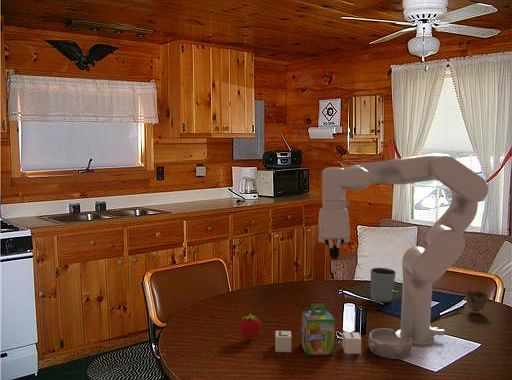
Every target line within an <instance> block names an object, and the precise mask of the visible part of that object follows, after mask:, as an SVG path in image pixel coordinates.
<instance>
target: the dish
mask: <svg viewBox="0 0 512 380" xmlns="http://www.w3.org/2000/svg"><path fill="white" fill-rule="evenodd" d="M367 341H368V348H369V350H370V352H372V353H373V354H374V355H376V356H379V357H381V358H386V359H393V360H402V359H405V358H408V357H409V356H410V355H411V353H412V350H413V349H412V348H413V345H412V339H411V338H410V337H409V338H408V339H407V340H405V341H403V340H401V339H400V338H399V337H398V336H397V335H396V331H395V330H394V329H393V328H386V327H385V328H384V327H383V328H382V327H381V328H375V329H372V330H371V331H370V332H369V335H368V340H367Z"/></svg>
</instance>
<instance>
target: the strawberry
mask: <svg viewBox="0 0 512 380" xmlns="http://www.w3.org/2000/svg"><path fill="white" fill-rule="evenodd" d="M261 326H262V323H261V320H260V319H259V317H257V316H256V315H253V314H252V312H250V314H249V315H243V316H242V318H241V319H240V320H239V321H238V328H239V331H240V333H241V334H242V335H243V336H244V338H246V340H247V341H252V340H253V339H254V338H255V336H256V335H257V334H258V333H259V331H260V329H261Z"/></svg>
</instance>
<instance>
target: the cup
mask: <svg viewBox="0 0 512 380" xmlns="http://www.w3.org/2000/svg"><path fill="white" fill-rule="evenodd" d="M487 299H488V294H487V293H485V292H482V291H480V290H478V291H477V290H475V291H474V292H472V290H467V291H466V302H467V306H468V307H469V309H470V313H472V314H474V315H480V314H481V312H482V310H484V308H485V306H486V305H487Z"/></svg>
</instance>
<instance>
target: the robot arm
mask: <svg viewBox="0 0 512 380" xmlns="http://www.w3.org/2000/svg"><path fill="white" fill-rule="evenodd" d="M431 181H439V183H441V184H442V185H444V186H445V187H446V188H448V189H450V191H451V201H450V202H451V203H450V205H449V206H448V208H447V209H446V210H445V211H444V213H443V214H442V215H441V216H440V217H439V218H438V220H436V222H435V223H434V224H432V226H431V227H430V228H429V229H428V231H427V232H426V234H425V240H426V243H427V245H428V246H427V247H426V248H424V246H423V247H422V246H418V245H417V246H416V245H415V246H412V247H409V248H408V249H406V251H405V252H404V254H403V255H402V260H401V261H402V263H401V266H402V267H401V268H402V271H401V272H402V291H401V311H400V329H398V330H397V331H395V333H396V335H397V336H398V337H399V338H400V339H401V340H403V341H405V340H407V339H408V338H409V337H410V338H411V339H412V346H415V347H416V346H418V347H424V346H430V345H432V344H433V343H434V342H435V336H445V330H444V329H439V328H438V327H431V317H432V311H431V310H432V299H433V298H432V296H433V283H434V282H436V281H438V280H439V279H440V278H441V277H442V276H443V275H444V274H445V273H446V272H447V271H448V269H450V268H451V267H452V266H453V264H455V262H456V261H457V260H458V259H459V258H460V256H461V255H462V254H463V252H464V249H465V246H466V240H465V237H464V235H463V234H464V233H465V231H466V230H467V229H468V228H469V226H471V224H472V222H473V221H475V218H476V216H477V212H478V207H479V202H481V201H483V200H485V198H486V197H487V195H488V193H489V185H488V183H487V181H486V180H485V179H484V178H483V177H482V176H480V175H479V174H478V173H476V172H475V171H473V170H472V169H470V168H469V167H467V166H466V165H464V164H463V163H462V162H461V161H459V160H457V159H456V158H454V157H453V156H451V155H449V154H444V153H430V154H423V155H416V156H410V157H404V158H403V157H402V158H397V159H396V158H395V159H394V158H393V159H389V160H382V161H373V162H366V163H365V162H364V163H359V164H353V165H350V166H348V167H347V168H343V167H339V166H338V167H337V166H333V167H332V166H330V167H325V168H324V169H322V208H320V209H319V212H318V225H317V227H318V228H317V235H318V238H317V241H318V243H324V244H326V245H327V246H328V248H329V249H328V250H329V251H328V253H329V254H328V256H329V257H330V259H331V260H334V261H337V260H338V257H339V256H340V248H341V246H342V245H343V244H344V243H347V242H350V241H351V237H350V236H351V228H350V227H351V225H350V217H349V210H348V208H347V206H350V205H351V203H350V202H351V201H350V200H347V199H346V193H347V191H346V190H351V191H352V190H353V191H363V190H365V189H367V188H368V187H369V186H370V185H376V184H388V185H397V186H398V185H408V184H413V183H422V182H431ZM333 240H335V242H334V243H335V244H333Z"/></svg>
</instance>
